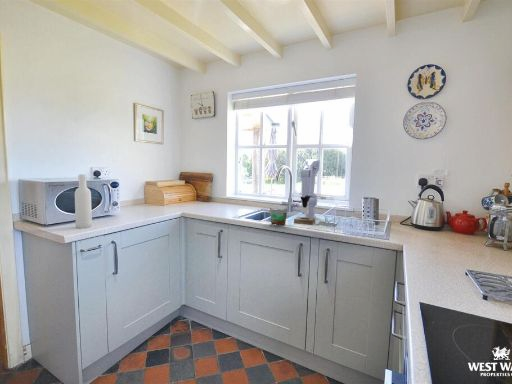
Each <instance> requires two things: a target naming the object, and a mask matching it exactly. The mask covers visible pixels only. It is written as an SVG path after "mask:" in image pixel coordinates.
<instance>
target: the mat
mask: <svg viewBox="0 0 512 384" xmlns="http://www.w3.org/2000/svg"><path fill="white" fill-rule="evenodd" d="M326 222H327V221H326ZM326 222H325V220H324V221H323V220H319V222H318V223H317V224H316V225H318V226H324V227H325V226H327V227H337V226H338V223H337V224H334V223H326Z"/></svg>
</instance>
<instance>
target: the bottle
mask: <svg viewBox="0 0 512 384" xmlns="http://www.w3.org/2000/svg"><path fill="white" fill-rule="evenodd" d="M87 186H88V185H87V175H86V174H78V187H77V188H76V189H75V191H74V209H75V210H74V211H75V212H74V213H75V215H74V216H75V228H76V229H89V228H91V227H93V217H92V216H93V215H92V214H93V213H92V212H93V211H92V208H93V207H92V192H91V190H90V188H88V187H87Z"/></svg>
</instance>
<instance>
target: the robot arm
mask: <svg viewBox="0 0 512 384" xmlns="http://www.w3.org/2000/svg"><path fill="white" fill-rule="evenodd" d="M320 164H321V162H320V159H318V158H317V159H314V158H313V159H306V160H305V166H304V168H302V169H301V171H300V177H301V178H300V179H301V189H300V190H301V191H300V192H299V195H301V196H300V199H301V205H302V204H303V207H307V202H308V201H309V206H308V214H307V213H304V216H303V217H310V218H315V219H316V217H317V216H316V214H315V213H316V206H317V205H318V195H317V194H316V193H315V183H316V176H317V173H318V172H319V171H320Z"/></svg>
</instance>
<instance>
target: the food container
mask: <svg viewBox="0 0 512 384" xmlns="http://www.w3.org/2000/svg"><path fill="white" fill-rule="evenodd" d="M269 213H270V222H271V223H272V224H271V225H273V224H276V225H275V226H284V225H286V223H287V221H286V220H287V214H288V213H289V211H288V209H279V208H278V209H277V208H276V209H273V208H272V207H270V209H269Z"/></svg>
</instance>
